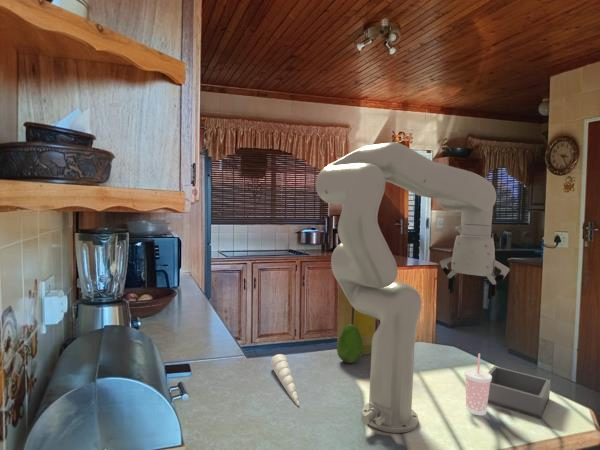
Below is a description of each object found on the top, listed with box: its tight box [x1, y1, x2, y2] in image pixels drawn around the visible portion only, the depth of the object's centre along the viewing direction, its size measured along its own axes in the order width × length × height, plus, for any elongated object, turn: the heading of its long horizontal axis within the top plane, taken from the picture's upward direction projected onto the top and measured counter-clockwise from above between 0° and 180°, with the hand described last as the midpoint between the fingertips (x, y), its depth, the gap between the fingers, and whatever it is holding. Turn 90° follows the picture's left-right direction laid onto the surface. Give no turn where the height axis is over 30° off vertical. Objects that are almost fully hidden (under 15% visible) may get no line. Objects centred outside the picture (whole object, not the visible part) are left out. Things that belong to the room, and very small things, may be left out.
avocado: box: [336, 324, 363, 364], centre depth 127 cm, size 8×8×12 cm
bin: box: [487, 365, 551, 420], centre depth 106 cm, size 14×14×5 cm
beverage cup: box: [464, 352, 492, 416], centre depth 99 cm, size 6×6×14 cm
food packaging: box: [336, 286, 377, 356], centre depth 139 cm, size 13×9×25 cm
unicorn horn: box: [270, 353, 300, 407], centre depth 109 cm, size 5×24×5 cm, turn 12°
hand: (471, 295), depth 109 cm, fingers open, 9 cm apart
